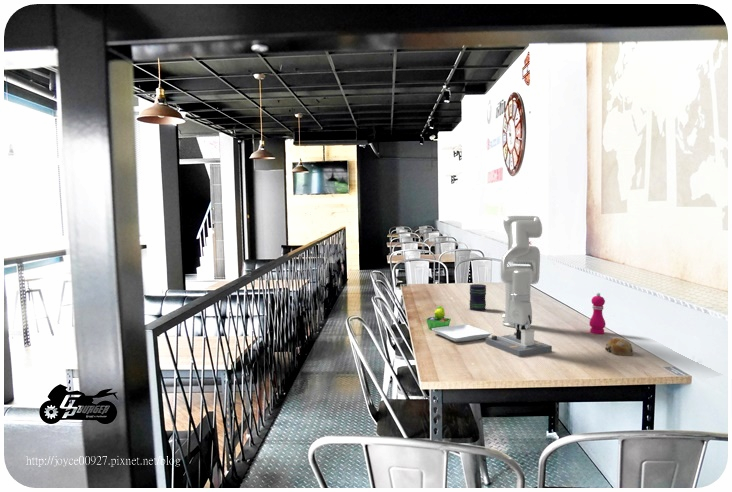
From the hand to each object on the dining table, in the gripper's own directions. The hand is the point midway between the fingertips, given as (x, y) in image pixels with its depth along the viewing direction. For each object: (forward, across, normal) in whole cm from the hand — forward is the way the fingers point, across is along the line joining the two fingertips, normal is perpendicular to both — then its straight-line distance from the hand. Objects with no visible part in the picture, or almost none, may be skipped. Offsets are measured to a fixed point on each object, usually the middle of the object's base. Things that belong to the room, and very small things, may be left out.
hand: (520, 339), depth 212 cm
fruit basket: (+4, -46, -13) cm, 48 cm away
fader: (+2, +4, 0) cm, 5 cm away
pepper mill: (+4, -6, +54) cm, 54 cm away
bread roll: (+5, +22, +35) cm, 41 cm away
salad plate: (+5, -28, -12) cm, 30 cm away
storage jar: (+4, -77, +35) cm, 84 cm away
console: (+4, -2, 0) cm, 5 cm away
